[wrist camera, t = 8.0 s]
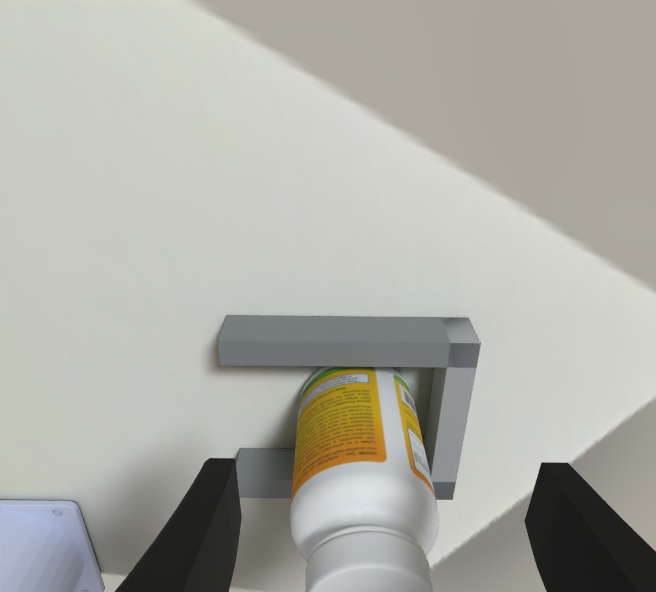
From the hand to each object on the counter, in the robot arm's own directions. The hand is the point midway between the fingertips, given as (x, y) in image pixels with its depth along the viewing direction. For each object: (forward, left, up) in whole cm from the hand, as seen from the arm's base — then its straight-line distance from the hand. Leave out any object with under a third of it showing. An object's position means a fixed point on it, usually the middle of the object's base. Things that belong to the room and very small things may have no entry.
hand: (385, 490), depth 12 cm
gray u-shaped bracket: (0, -6, -10) cm, 12 cm away
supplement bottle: (0, -6, -11) cm, 12 cm away
